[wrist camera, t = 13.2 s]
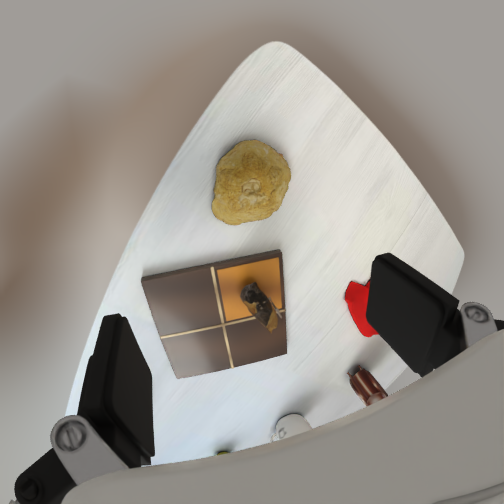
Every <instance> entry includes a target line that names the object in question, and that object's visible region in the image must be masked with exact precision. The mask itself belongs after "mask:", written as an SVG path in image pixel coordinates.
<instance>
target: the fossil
mask: <svg viewBox="0 0 504 504" xmlns="http://www.w3.org/2000/svg"><path fill="white" fill-rule="evenodd" d="M216 176H217V177H216V182H215V187H214V190H213V191H214V193H215V196H214V200H213V201H212V211H213V214H214V215H215V217H216V218H217V219H219V220H222V221H223V222H225V223H226V224H229V225H239V224H241V223H245V222H252V221H256V220H263V219H266V218H268V217H270V216H271V215H272V213H273V212H275V211H277V210H278V209H279V207H280V206H281V204H282V200H283V198H284V196H285V193H286V192H287V190H288V184H289V182H290V179H291V172H290V168H289V167H288V164H287V162H286V160H285V159H284V158H283V155H282V154H278V153H277V152H276V150H275V149H273V148H272V147H270V146H268V145H266V144H265V143H263V142H260V141H258V140H250V141H249V140H246V141H242V142H239V143H238V144H236V145H235V146H234V148H233V149H232V150H231V151H229V152H228V153H227V154H226V155H225V156H223V157H222V158H221V159H220V161H219V163H218V164H217V167H216Z"/></svg>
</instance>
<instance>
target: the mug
mask: <svg viewBox="0 0 504 504" xmlns="http://www.w3.org/2000/svg"><path fill="white" fill-rule="evenodd" d="M311 429H312V427H311V426H310V424H309V423H308V421H307V420H306V419H305V418H304V417H302V416H301V415H298V414H290V415H287V416H285V417H283V418H281V419H280V420H279V421H278V423H277V425H276V433H275V434H273V435H272V437H271V440H270V443H271V442H273V439H274V437H275V436H277V439H278V440H281V439H284V438H288V437H291V436H294V435H297V434H300V433H303V432H306V431H308V430H311Z"/></svg>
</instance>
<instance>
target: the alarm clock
mask: <svg viewBox="0 0 504 504" xmlns="http://www.w3.org/2000/svg"><path fill="white" fill-rule="evenodd" d="M358 367H359V368H360V371H359V372H357V373H356V374H355V375H354V376H352V375H350V374H349V372H348V373H347V374H348V375H349V377H350V378H351V379H350V384H351V386H352V388H353V390H354V391H355V392H356V394H357V395H358V396H359V398H360V399H361V400H362V401H363V403H364V404H365V405H366V406H369V405H371V404H373V403H376V402H378V401H380V400H382V399H384V398H386V397H388V394H387V393H386V392H385V390H384V389H383V388H382V387H381V385H380V384H379V383H378V382H377V380H376V379H375V378H374V377H373V376H372V374H371V373H370V372H369V371H366V370H365V369H364V368H363V369H362V368H361V367H360V365H359V366H358Z"/></svg>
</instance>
